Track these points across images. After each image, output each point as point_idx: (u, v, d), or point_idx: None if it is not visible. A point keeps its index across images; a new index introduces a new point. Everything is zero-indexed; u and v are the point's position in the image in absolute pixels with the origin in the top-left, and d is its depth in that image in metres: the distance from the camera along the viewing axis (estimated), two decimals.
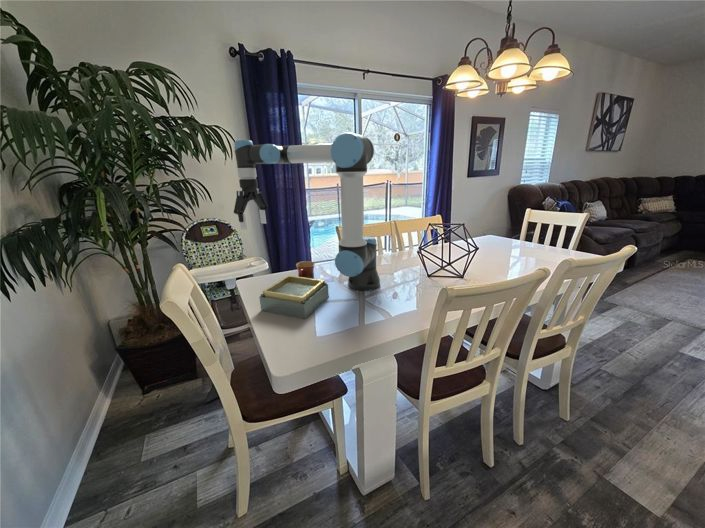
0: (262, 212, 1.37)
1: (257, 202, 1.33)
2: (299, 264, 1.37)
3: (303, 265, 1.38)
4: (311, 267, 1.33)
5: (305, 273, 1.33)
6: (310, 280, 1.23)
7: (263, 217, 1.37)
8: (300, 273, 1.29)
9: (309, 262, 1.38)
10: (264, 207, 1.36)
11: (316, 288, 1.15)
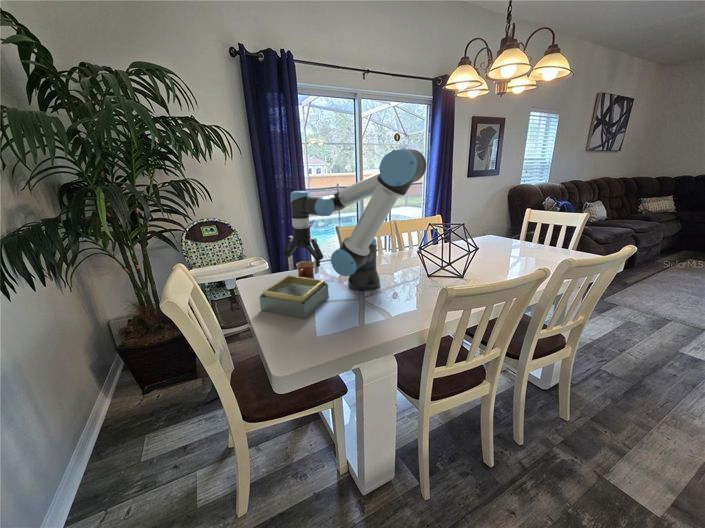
0: None
1: None
2: (299, 264, 1.37)
3: (303, 265, 1.38)
4: (311, 267, 1.33)
5: (305, 273, 1.33)
6: (310, 280, 1.23)
7: None
8: (300, 273, 1.29)
9: (309, 262, 1.38)
10: (315, 258, 1.29)
11: (316, 288, 1.15)
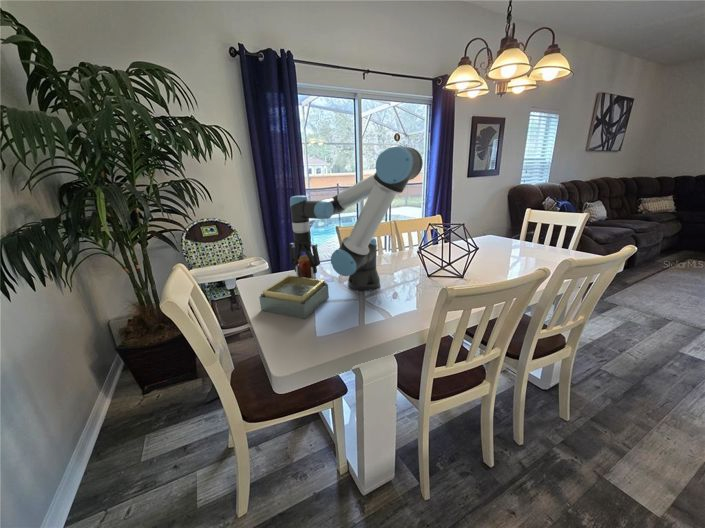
0: None
1: None
2: (300, 258, 1.36)
3: (304, 259, 1.37)
4: None
5: (306, 267, 1.31)
6: (310, 280, 1.23)
7: None
8: (301, 266, 1.27)
9: None
10: (312, 264, 1.30)
11: (316, 288, 1.15)
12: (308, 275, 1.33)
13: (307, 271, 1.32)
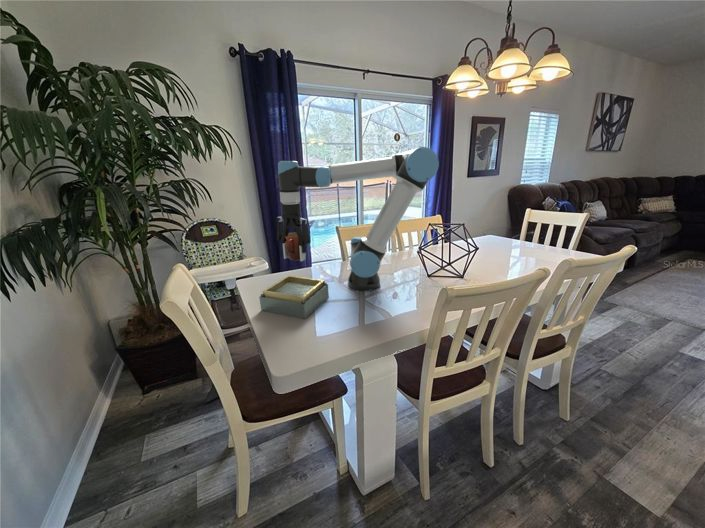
0: None
1: None
2: (289, 235, 1.19)
3: (293, 237, 1.20)
4: None
5: (294, 245, 1.15)
6: (310, 280, 1.23)
7: None
8: (287, 243, 1.11)
9: None
10: (301, 242, 1.13)
11: (316, 288, 1.15)
12: (296, 254, 1.16)
13: (295, 250, 1.15)
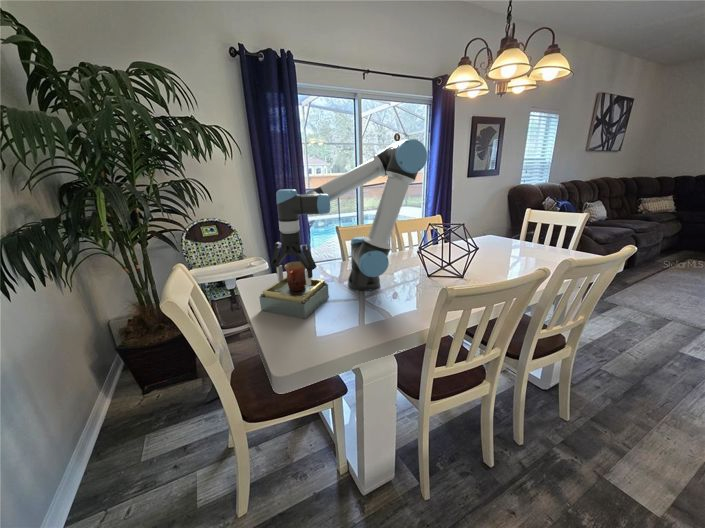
0: None
1: None
2: (288, 265, 1.17)
3: (293, 266, 1.18)
4: (302, 269, 1.13)
5: (295, 276, 1.13)
6: None
7: None
8: (289, 276, 1.09)
9: (300, 263, 1.19)
10: (307, 268, 1.10)
11: (316, 288, 1.15)
12: (297, 285, 1.14)
13: (296, 281, 1.13)
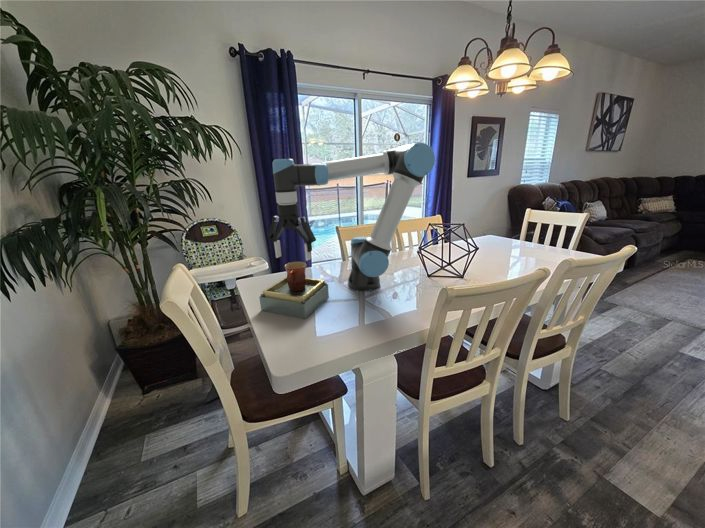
0: None
1: None
2: (288, 265, 1.17)
3: (293, 266, 1.18)
4: (302, 269, 1.13)
5: (295, 276, 1.13)
6: (310, 280, 1.23)
7: None
8: (289, 276, 1.09)
9: (300, 263, 1.19)
10: (306, 241, 1.06)
11: (316, 288, 1.15)
12: (297, 285, 1.14)
13: (296, 281, 1.13)
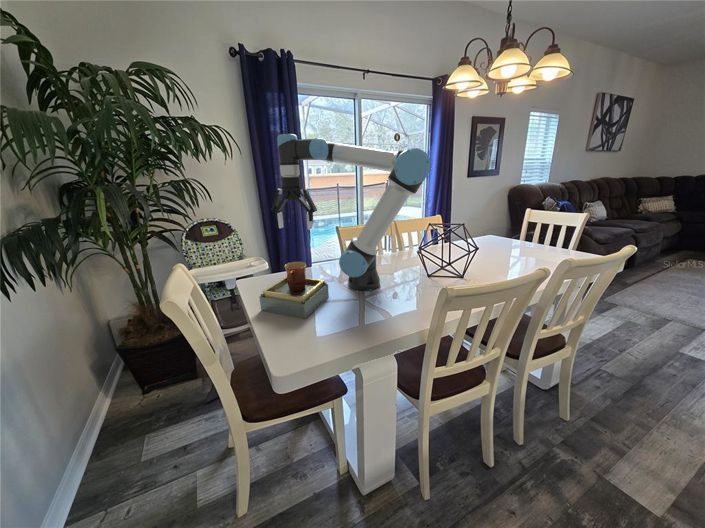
0: None
1: None
2: (288, 265, 1.17)
3: (293, 266, 1.18)
4: (302, 269, 1.13)
5: (295, 276, 1.13)
6: (310, 280, 1.23)
7: None
8: (289, 276, 1.09)
9: (300, 263, 1.19)
10: (308, 211, 1.16)
11: (316, 288, 1.15)
12: (297, 285, 1.14)
13: (296, 281, 1.13)
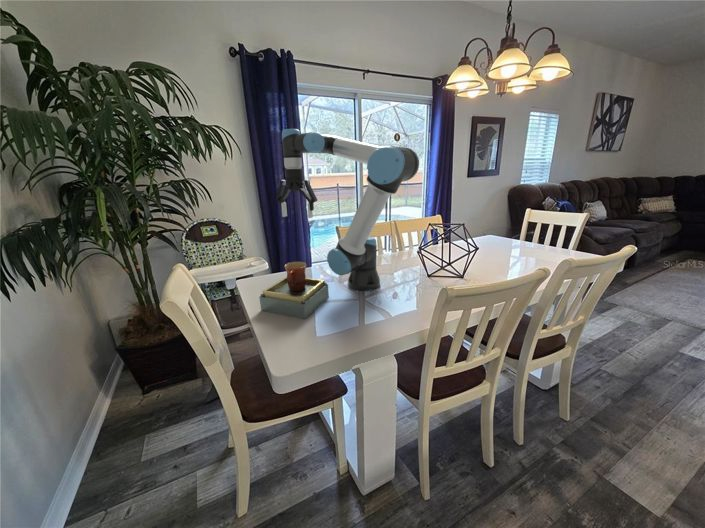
0: None
1: None
2: (288, 265, 1.17)
3: (293, 266, 1.18)
4: (302, 269, 1.13)
5: (295, 276, 1.13)
6: (310, 280, 1.23)
7: None
8: (289, 276, 1.09)
9: (300, 263, 1.19)
10: (309, 200, 1.25)
11: (316, 288, 1.15)
12: (297, 285, 1.14)
13: (296, 281, 1.13)
